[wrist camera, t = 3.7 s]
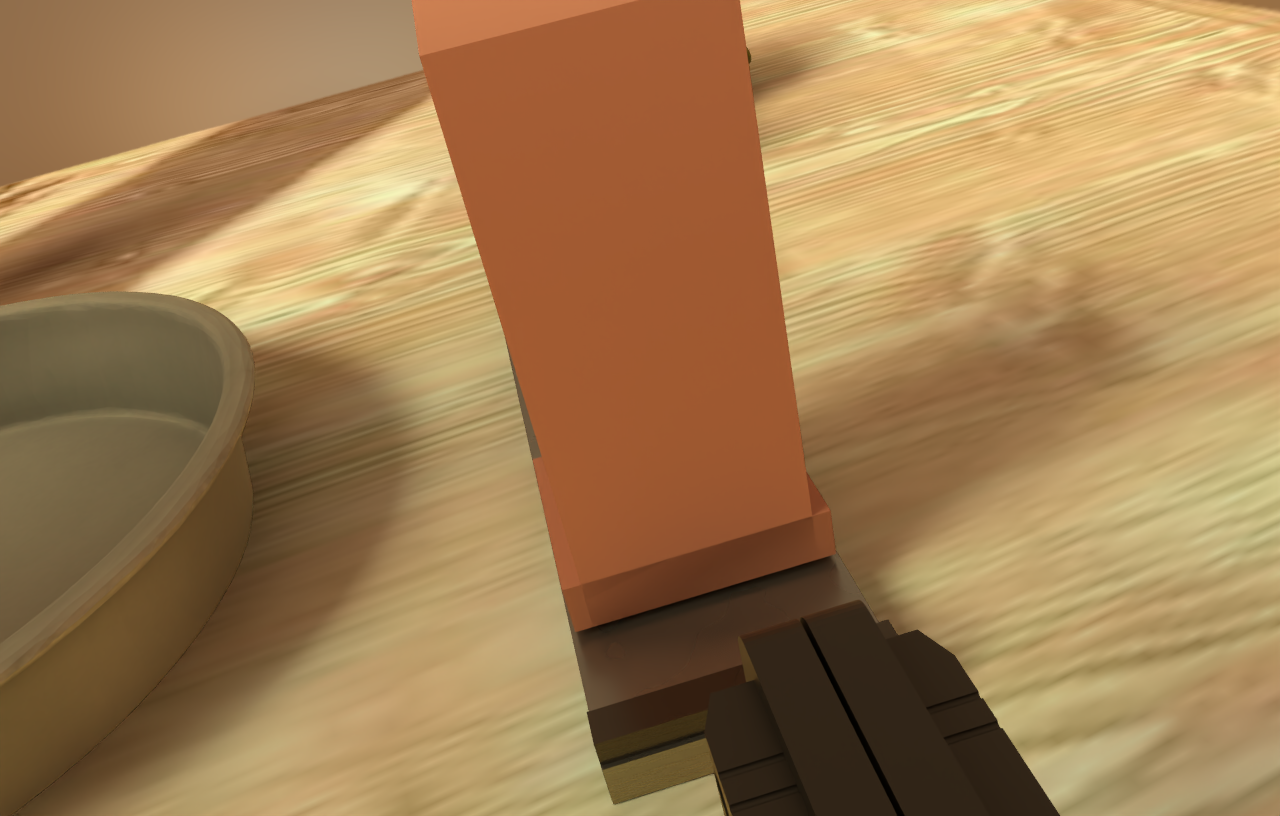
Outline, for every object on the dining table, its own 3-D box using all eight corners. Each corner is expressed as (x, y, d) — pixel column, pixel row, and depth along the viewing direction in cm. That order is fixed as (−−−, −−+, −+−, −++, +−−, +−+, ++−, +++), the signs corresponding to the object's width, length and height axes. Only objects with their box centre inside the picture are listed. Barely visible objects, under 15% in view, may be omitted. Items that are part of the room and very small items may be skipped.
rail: (613, 804, 20) (500, 466, 16) (481, 227, 46) (426, 42, 42) (912, 710, 20) (882, 356, 16) (614, 191, 47) (572, 5, 42)
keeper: (575, 632, 22) (393, 62, 16) (544, 497, 26) (391, 5, 20) (835, 554, 23) (760, -32, 16) (764, 433, 27) (682, -69, 21)
